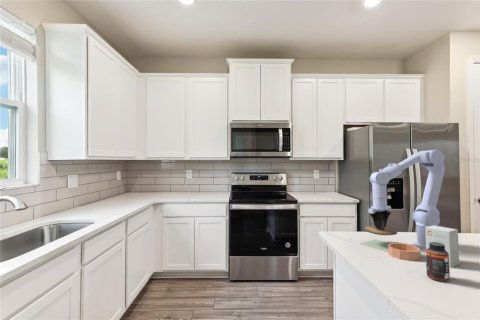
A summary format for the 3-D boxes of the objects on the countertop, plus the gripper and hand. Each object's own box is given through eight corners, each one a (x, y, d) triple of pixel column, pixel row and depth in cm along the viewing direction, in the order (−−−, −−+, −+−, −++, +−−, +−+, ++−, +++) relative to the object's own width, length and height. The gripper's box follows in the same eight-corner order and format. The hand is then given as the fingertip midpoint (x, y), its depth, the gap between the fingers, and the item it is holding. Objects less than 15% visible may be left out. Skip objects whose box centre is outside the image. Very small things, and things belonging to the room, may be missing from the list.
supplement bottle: (454, 283, 77) (453, 247, 78) (432, 281, 79) (431, 245, 79) (442, 274, 83) (441, 241, 83) (422, 273, 84) (422, 240, 85)
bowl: (397, 250, 108) (397, 241, 108) (425, 258, 98) (425, 248, 98) (383, 255, 102) (382, 245, 102) (411, 264, 93) (411, 253, 93)
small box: (459, 264, 92) (458, 229, 92) (450, 267, 89) (449, 231, 89) (434, 257, 99) (433, 224, 99) (425, 260, 96) (424, 226, 96)
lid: (375, 228, 123) (374, 216, 123) (403, 234, 111) (402, 221, 112) (358, 231, 116) (358, 219, 116) (386, 238, 105) (386, 224, 105)
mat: (375, 240, 122) (375, 239, 122) (403, 247, 111) (403, 246, 111) (359, 244, 116) (359, 243, 116) (387, 252, 105) (386, 251, 105)
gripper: (380, 196, 121) (381, 223, 121) (361, 198, 114) (362, 227, 114) (395, 197, 115) (396, 226, 115) (376, 199, 108) (377, 231, 108)
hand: (380, 227), depth 114 cm, fingers closed on lid, 3 cm apart
